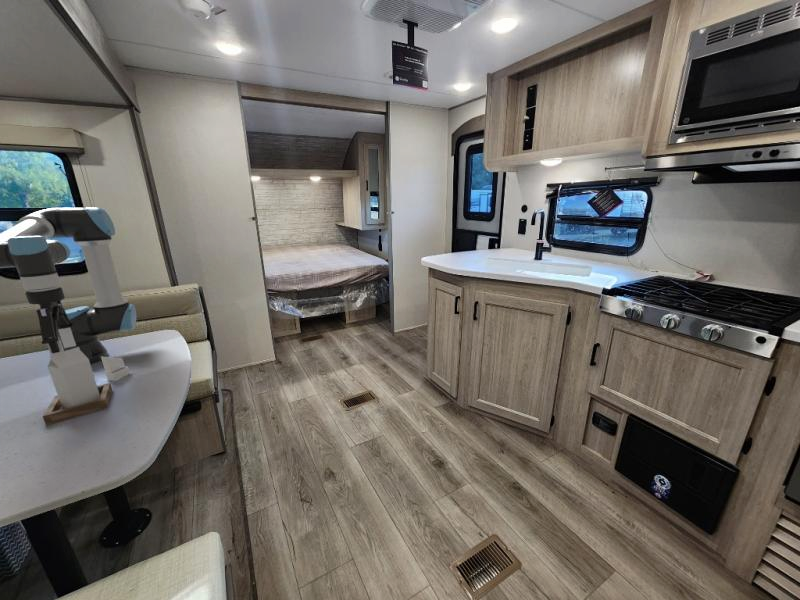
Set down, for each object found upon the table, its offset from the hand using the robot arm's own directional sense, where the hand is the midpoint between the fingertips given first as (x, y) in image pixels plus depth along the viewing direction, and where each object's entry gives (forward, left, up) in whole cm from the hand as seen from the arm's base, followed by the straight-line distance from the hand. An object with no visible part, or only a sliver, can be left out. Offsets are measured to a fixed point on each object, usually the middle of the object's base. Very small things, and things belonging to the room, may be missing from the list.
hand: (65, 353), depth 101 cm
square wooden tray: (0, 0, -19) cm, 19 cm away
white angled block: (-19, +8, -19) cm, 28 cm away
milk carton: (0, 0, -18) cm, 18 cm away
